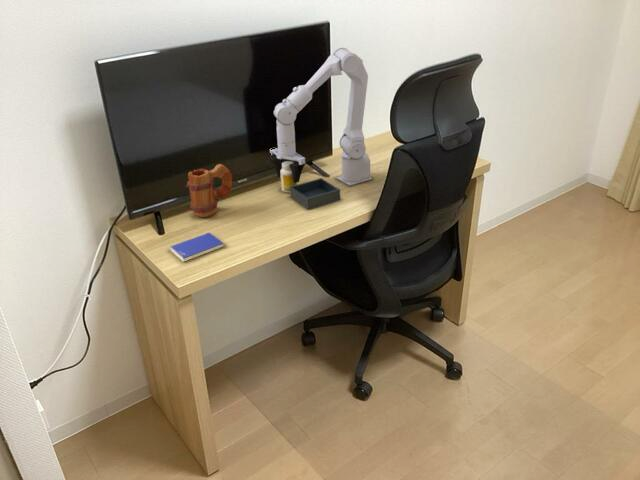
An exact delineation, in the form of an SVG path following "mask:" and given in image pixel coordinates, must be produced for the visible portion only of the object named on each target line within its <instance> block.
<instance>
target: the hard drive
mask: <svg viewBox="0 0 640 480" xmlns="http://www.w3.org/2000/svg"><path fill="white" fill-rule="evenodd" d="M223 247H224V243H223V242H222V241H221V240H220V239H219V238H217V237H216V236H214V235H213V234H212V232H207V233H204V234H201V235H198V236H195V237H193V238H190V239H187V240H185V241H181V242H179V243H176V244H173V245H171V246H169V249H170V252H171V253H172V254H174V255H175V256H176V257H177V258H178V259H180V260H181V261H182V262H186V261H189V260H191V259H192V260H193V259H195V258H197V257H199V256H200V257H201V256H203V255H205V254H207V253H210V252H212V251H215V250H218V249H220V248H223Z"/></svg>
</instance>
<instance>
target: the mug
mask: <svg viewBox="0 0 640 480" xmlns="http://www.w3.org/2000/svg"><path fill="white" fill-rule="evenodd" d="M192 171H193V170H192ZM192 171H189V172H188V174H187V179H188V180H189V181H188V180H187V183H186V185H185V188H186V189H188V190H189V195H190V201H191V202H190V206H189V207H188V209H189V210H190V211H192V213H193V215H195V216H197V217H200V218H201V217H202V218H206V217H210V216H212V215H214V214H215V213H216V212H217V211H218V202H219V199H218V198H221V199H224V200H225V199H226V198H227V197H228V195H229V194H230V191H231V189H232V186H233V176H232V172H231V171H230V170H229V169H228V167H226V165H224V164H222V163H218V164H216V165H215V167H214V168H213V169H210V170H208V169H205V168H199V169H197V170H195V169H194V171H193V172H192ZM215 178H219V179H222V180H221V181H222V182H221V185H220V187H219V188H214V182H215ZM217 197H218V198H217Z"/></svg>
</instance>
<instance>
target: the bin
mask: <svg viewBox="0 0 640 480" xmlns="http://www.w3.org/2000/svg"><path fill="white" fill-rule="evenodd" d="M290 198H291V199H292V200H294V201H295V202H297V203H298V204H299V205H301V206H302V207H304V208H305V209H307V210H312V209H315V208H318V207H322V206H325V205H328V204H331V203H334V202H337V201H340V200H341V189H340V188H338V187H336V186H335V185H333V184H332V183H330V182H328V181H327V180H325V179H323V178H322V177H321V178H317V179H313V180H310V181H307V182H303V183H299V184H297V185H296V186H292V187H290Z"/></svg>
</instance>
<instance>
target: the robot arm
mask: <svg viewBox="0 0 640 480" xmlns="http://www.w3.org/2000/svg"><path fill="white" fill-rule="evenodd" d="M342 72H343V73H344V74H346V76H347V77H348V78H349V79H350V87H349V89H350V90H349V97H348V98H349V99H348V108H347V117H346V126H345V128H344V129H343V130H342V135H341V137H340V139H339V147H340V148H341V149H342V152H341V175H338V176H337V177H336V179H337V180H339V181H340V182H342V183H344V184H346V185H347V186H349V187H351V186H354V185H357V184H360V183H364V182H368V181H371V180H372V177H371V158H370V156H369V154H368V153H367V152H366V149H367V148H366V145H365V135H364V132H363V123H364V114H365V108H366V107H365V106H366V99H367V98H366V97H367V90H368V80H369V74H368V71H367V70H366V67H365V65H364V60H363V59H362V58H361V57H360V56H358V55H357V54H356V53H353V52H352V51H350V50H348V49H347V48H345V47H338V48H337V49H335V50H334V51H333V53H331V54H330V55H329V56H328V57H327V59H326V60H325V62H324V63H323V64H322V65H321V66H320V67H319V69H318V70H317V71H316V72H315V73H314V74H313V75H312V76H311V78H310V79H309V80H308V81H307V82H306V84H301V85H298V86H295V87H293V88H292V92H291V93H290V94H289V95H288V96H287V97H286V98H283V99H282V102H279V103H277V104H276V105H275V106H274V110H273V116H274V117H275V118H276V139H277V147H274V148H275V149H272V148H270V149H269V154H270V153H271V155H270V156H271V157H269V161H270V162H271V163H272V165H273V168H274V169H275V173H276V176H277V177H278V178H281V176H280V171H281V169H282V163H283V162H285V161H286V160H287V161H291V162H293V163H292V164H289V166H290V168H291V171H292V175H293V182H294V183H297V184H298V183H300V180H301V176H302V172H303V170H304V167H305V166H306V165H307V163H306V157H305V156H302V155H301V154H299V153H298V152H296V151H297V150H296V149H297V148H296V131H295V121H296V119H297V114H298V113H299V112H301V111H302V110H303V108H305V107H306V105H307V104H309V102H310V101H312V99H313V93H314V92H315V91H316V90H318V89H319V87H321V86H322V85H323V84H324V83H325V82H326V81H327V80H329V79H330V78H331V77H333V76H335V77H336V76H342V75H343V73H342ZM271 149H272V150H271Z"/></svg>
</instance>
